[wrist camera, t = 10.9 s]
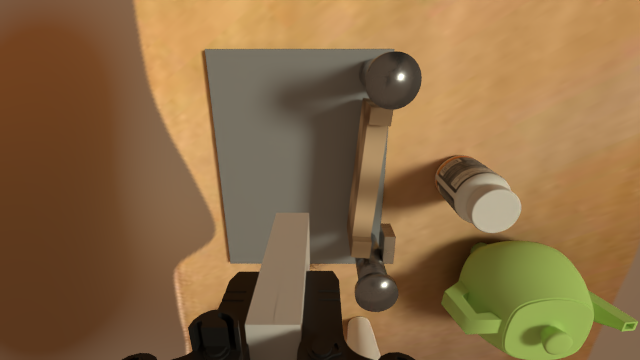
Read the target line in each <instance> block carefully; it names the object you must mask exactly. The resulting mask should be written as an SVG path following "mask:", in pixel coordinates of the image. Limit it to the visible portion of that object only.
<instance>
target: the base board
mask: <svg viewBox="0 0 640 360" xmlns="http://www.w3.org/2000/svg"><path fill="white" fill-rule="evenodd" d="M387 52H394V49H205V55H206V63H207V71H208V80H209V88H210V96H211V104H212V113H213V121H214V129H215V138H216V146H217V154H218V163H219V171H220V179H221V187H222V196H223V204H224V212H225V221H226V229H227V237H228V246H229V254H230V262H231V263H259V264H262V262H263V258H264V255H265V251H266V248H267V244H268V240H269V237H270V233H271V230H272V226H273V223H274V219H275V216H276V213H309V240H310V264H356V262H355V257H351V254H350V247H349V241H348V234H347V219H348V211H349V203H350V195H351V187H352V179H353V171H354V163H355V155H356V147H357V140H358V132H359V124H360V116H361V108H362V100H363V98H369V97H368V95H367V93H366V90H365V86H364V85H363V84H362V83H361V81H360V78H359V71H360V68H361V66H362V65H363V63H364V62H365V61H367V60H369V59H372V58H377V57H378V56H380V55H382V54H384V53H387ZM387 137H388V131H387ZM387 137H386V143H385V150H384V156H383V162H382V169H381V175H380V181H379V188H378V194H377V200H376V207H375V213H374V219H373V226H372V233H373V234H374V235H375V237H376V239H377V243H378V246H379V232H380V224H381V216H382V203H383V190H384V177H385V164H386V151H387Z"/></svg>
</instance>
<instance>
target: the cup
mask: <svg viewBox="0 0 640 360" xmlns="http://www.w3.org/2000/svg"><path fill="white" fill-rule="evenodd" d="M347 345H348V346H349V347H350V348H351V349H352V350H353V351H354V352H356V353H357V354H359V355H361V356H364V357H367V358H370V359H373V360H378V359H379V358H380V357H381V356H380V353H379V349H378V346H377V343H376V340H375V336H374V333H373V330H372V327H371V324H370V322H369V320H368V319H366V318H364V317H355V318H352V319H351V320H350V321H349V323H348V334H347Z"/></svg>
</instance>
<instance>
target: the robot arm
mask: <svg viewBox="0 0 640 360" xmlns="http://www.w3.org/2000/svg"><path fill="white" fill-rule="evenodd" d="M309 269H310V240H309V213H276V216H275V219H274V223H273V226H272V230H271V233H270V237H269V240H268V244H267V248H266V251H265V255H264V258H263V262H262V265H261V269H260V272H238V273H237V274H236V275H235V276H234V277H233V278H232V279H231V280H230V281H229V284H228V286H227V289H226V292H225V294H224V296H223V299H222V302H221V304H220V306H219V309H217V310H211V311H208V312H206V313H203V314H201V315H200V316H198V317H197V318H196V319H194V320H193V322H192V323H191V324H190V326H189V327H188V330H189V335H190V340H191V345H192V350H193V351H192V352H191V353H189V354H187V355H185V356H182V357H179V358H176V359H173V360H373V359H370V358H367V357H364V356H361V355H359V354H357V353H356V352H354V351H353V350H352V349H351V348H350V347H349V346H348V345H347V343H346V341H345V340H344V336H343V327H342V314H341V302H340V289H339V280H338V278H337V277H336V275H335V274H334V272H333V271H309ZM122 360H157V359H156V357H155V356H153V355H151V354H149V353H148V354H147V353H139V354H134V355H131V356H128V357H126V358H124V359H122ZM378 360H415V359H413V358H412V357H410V356H409V355H406V354H402V353H399V352H395V353H387V354H385V355H383V356H381V357H380V358H379V359H378Z"/></svg>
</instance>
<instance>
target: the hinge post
mask: <svg viewBox="0 0 640 360" xmlns="http://www.w3.org/2000/svg"><path fill="white" fill-rule="evenodd" d="M359 78H360V81H361V83H362V84H363V85H364V86H365V90H366V93H367V95H368V97H369V98H370V99H371V101H373V102H374V103H375V104H376V105H377V106H379V107H381V108H384V109H389V110H393V109H399V108H402V107H404V106H406V105H407V104H409V103H410V102H411V101H412V100H413V99H414V98H415V97H416V95H417V93H418V91H419V89H420V86H421V78H422V77H421V71H420V68H419V65H418V64H417V62H416V61H415V60H414V59H413V58H412V57H411V56H410V55H408V54H406V53H403V52H387V53H384V54H382V55H380V56H378V57H377V58H372V59H369V60H367V61H365V62H364V63H363V65H362V66H361V68H360V71H359Z"/></svg>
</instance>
